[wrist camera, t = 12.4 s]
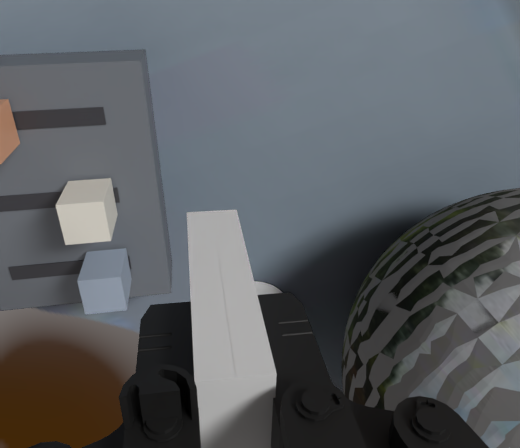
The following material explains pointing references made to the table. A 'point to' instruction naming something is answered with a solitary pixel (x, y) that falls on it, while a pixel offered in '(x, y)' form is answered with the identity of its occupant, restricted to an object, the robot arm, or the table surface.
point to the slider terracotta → (7, 131)
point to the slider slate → (105, 281)
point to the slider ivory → (87, 211)
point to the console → (79, 172)
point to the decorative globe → (445, 318)
